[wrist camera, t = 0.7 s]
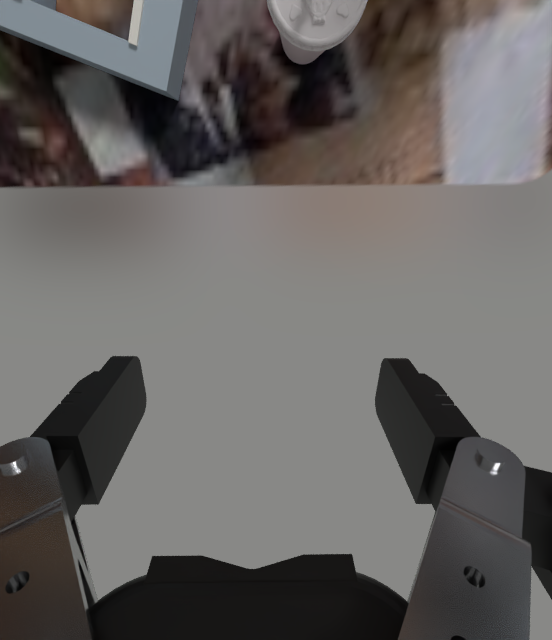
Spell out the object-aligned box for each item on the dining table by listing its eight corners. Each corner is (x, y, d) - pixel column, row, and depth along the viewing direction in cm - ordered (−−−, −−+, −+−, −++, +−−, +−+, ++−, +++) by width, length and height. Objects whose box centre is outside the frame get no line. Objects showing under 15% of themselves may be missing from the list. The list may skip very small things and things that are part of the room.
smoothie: (341, -14, 27) (407, -176, 14) (339, 81, 30) (394, 14, 17) (263, -10, 27) (259, -168, 14) (268, 85, 30) (268, 22, 17)
